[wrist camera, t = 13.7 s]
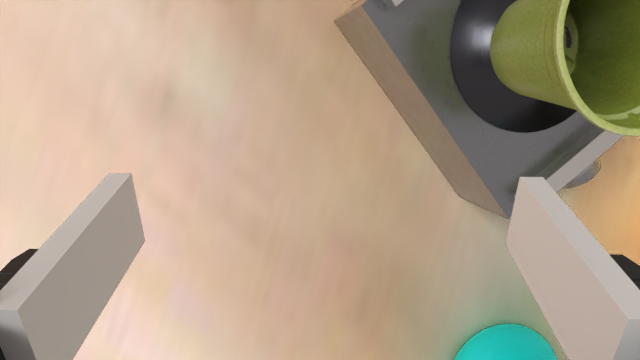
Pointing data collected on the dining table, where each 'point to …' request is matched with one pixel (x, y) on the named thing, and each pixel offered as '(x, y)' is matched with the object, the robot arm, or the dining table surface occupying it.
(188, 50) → the dining table surface
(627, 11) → the plant pot
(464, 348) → the donuts
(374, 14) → the gray open-top box
